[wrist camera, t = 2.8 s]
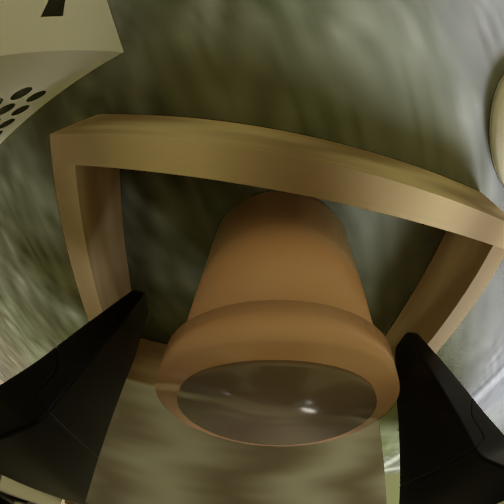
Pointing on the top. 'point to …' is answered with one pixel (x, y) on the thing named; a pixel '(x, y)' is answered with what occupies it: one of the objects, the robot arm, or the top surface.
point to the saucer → (498, 130)
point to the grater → (50, 50)
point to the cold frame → (151, 353)
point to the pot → (279, 333)
